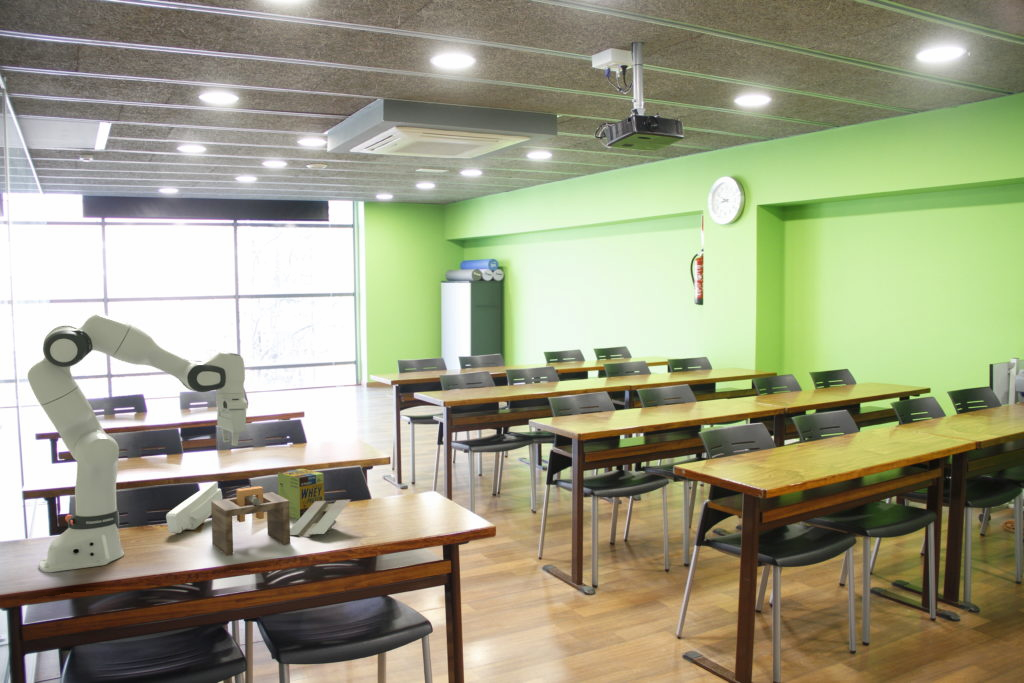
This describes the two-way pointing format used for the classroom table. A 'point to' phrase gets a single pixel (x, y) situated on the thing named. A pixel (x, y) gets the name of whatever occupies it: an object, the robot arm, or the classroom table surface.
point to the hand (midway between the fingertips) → (230, 443)
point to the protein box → (300, 489)
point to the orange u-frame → (249, 492)
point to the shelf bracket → (193, 509)
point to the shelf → (228, 507)
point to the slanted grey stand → (318, 518)
